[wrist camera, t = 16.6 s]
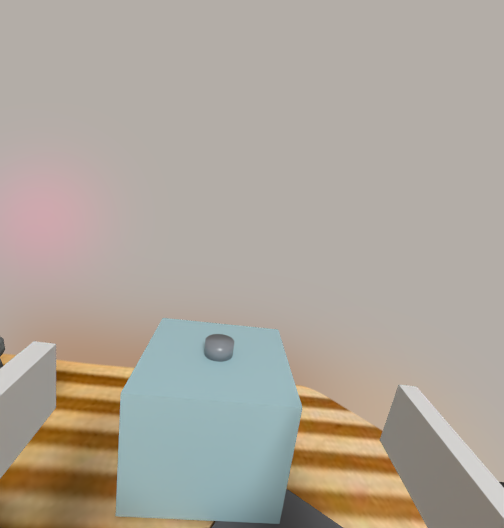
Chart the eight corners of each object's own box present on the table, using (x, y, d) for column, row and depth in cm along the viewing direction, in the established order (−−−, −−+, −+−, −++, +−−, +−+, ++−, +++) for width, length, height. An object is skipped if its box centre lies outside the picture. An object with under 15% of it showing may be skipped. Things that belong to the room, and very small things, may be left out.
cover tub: (115, 516, 22) (121, 376, 19) (156, 403, 33) (163, 306, 31) (279, 524, 23) (305, 392, 20) (264, 412, 34) (279, 318, 32)
